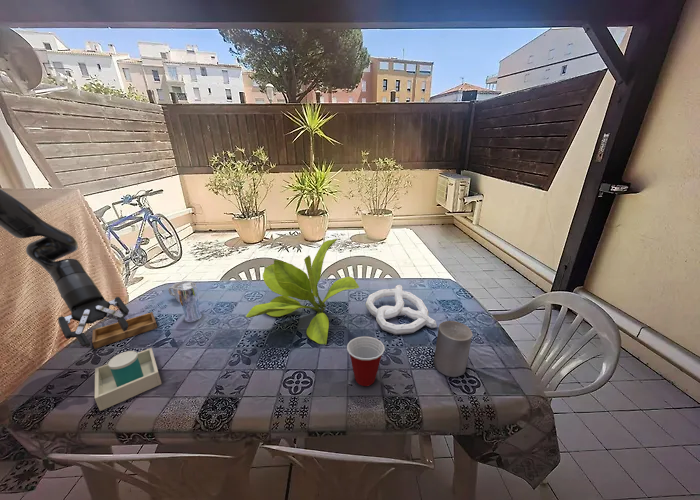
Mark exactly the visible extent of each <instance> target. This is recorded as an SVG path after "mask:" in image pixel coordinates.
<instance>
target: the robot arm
mask: <svg viewBox="0 0 700 500" xmlns="http://www.w3.org/2000/svg"><path fill="white" fill-rule="evenodd" d="M0 228H2V229H3V230H5V231H6V232H7V233H9V234H10V235H12V236H13V237H14V238H17V239H29V238H34V237H41V238H38V239H35V240H34V241H32V242H30V243H28V245H26V248H25V253H26V255H27V256H28V257H29V258H30V259H31V260H32V261H34V262H35V263H37V264H38V265H39V266H40V267H42V268H43V269H44V270H45V271H46V272H47V274H49V276H50V277H51V279H52V281H53V282H54V284H55V285H56V288H57V291H58V292H59V295H60V297H61V299H62V300H63V301H64V303H65V305H66V306H67V308H68V310H69V311H70V313H71V314H70V315H67V316H64V315H63V316H62V315H61V316H59V317H57V322H58V323H57V324H58V325H59V327H60V328H59V329H60V330H61V331H62V334H63V336H64V338H65V339H66V340H69V339H73V338H76V339H77V341H78V343H79V344H80V345H81V347H83V348H84V347H85V348H89V347H91V342H90V340H89V338H88V337H87V336H86V334H85V332H84V330H85V329H86V326H87V325H91V324H94V323H96V322H98V321H102V320H104V319H105V318H107V319H109V320H111V319H113V320H116V321H117V322H118V323H119V325H120V326H121V328H122V330H123V331H126V330H127V328H128V323H127V322H126V320H127V319H126V318H125V317H127V316H128V315H129V312H130V309H129V308H128V307H127V305H126V304H125V303H124V301H123V300H122V299H121V297H119V296H116V297H114V299H112V300H109V301H108V300H106V299H105V297H104V296H103V294H102V293H101V291H100V290H99V288H98V286H97V285H96V283H95V281H94V280H93V278H92V277H91V276H90V275H89V273H88V272H87V271H86V269H85V268H84V266H83V264H82V263H81V262H80V261H79V260H78V259H76V258H63V257H66V256H68V255H70V254H73V253H74V252H76V251H77V250H78V247H79V243H78V241H77V240H76V238H75V237H74V236H73V235H72V234H69V233H67V232H66V231H64V230H62V229H59V228H57V227H55V226H53V225H51V224H50V223H48V222H46V221H44V220H43V219H42V218H41V217H40V216H38V215H37V214H36V213H35V212H34V211H32V210H31V209H30V208H29V207H28V206H26V205H25V204H24V203H23V202H21V201H20V200H19V199H17V198H15V197H14V196H12V195H11V194H9V193H8V192H6V191H5V190H4V189H2V188H0ZM62 258H63V259H62ZM59 259H60V260H59ZM111 306H113V307H116V308H117V309H118V310H119V312H118V311H116V310H115V309H111V308H110V307H111ZM71 320H73V321H76V322H78V325H77V327H76V330H74V331H72V330H71V328H70V326H69V325H70V323H71Z"/></svg>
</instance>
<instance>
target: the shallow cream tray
mask: <svg viewBox="0 0 700 500" xmlns="http://www.w3.org/2000/svg"><path fill="white" fill-rule="evenodd" d="M137 354H138V360H139V363H140V366H141V369H142V372H143V375H144V376H143V377H141V378H138V379H136V380H134V381H131V382H129V383H126V384H124V385H121V386H119V387H117V385H116V383H115V380H114V377H113V375H112V372H111V369H110V368H109V366H108V363H105V364H103V365H101V366H97V367H95V368H94V401H95V403H96V406H97V408H98V410H99V412H101V411H105V410H107V409H108V408H111V407H114V406H115V405H117V404H120V403H122V402H124V401H127V400H129V399H132V398H133V397H135V396H137V395H140V394H143V393H145V392H147V391H149V390H151V389H153V388H155V387H159V386H160V385H162V380H161V379H162V378H161V375H160V372H159V368H158V364H157V361H156V358H155V354H154V351H153V348H152V347H149V348H147V349H143V350H142V351H139V352H137Z"/></svg>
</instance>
